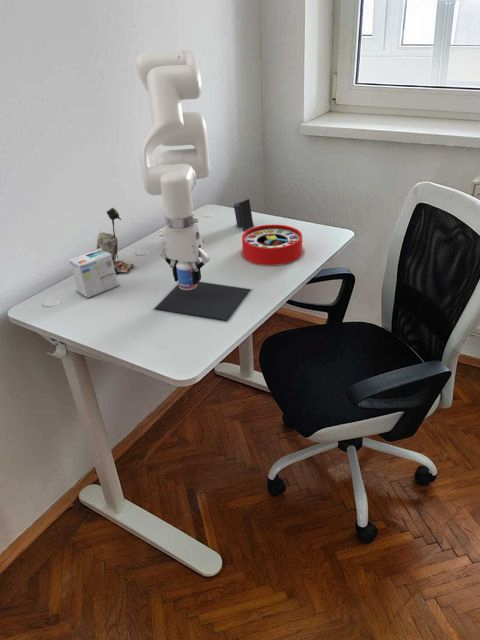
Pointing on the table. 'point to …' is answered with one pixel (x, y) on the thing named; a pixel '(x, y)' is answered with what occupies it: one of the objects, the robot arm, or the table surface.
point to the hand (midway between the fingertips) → (187, 280)
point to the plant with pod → (112, 244)
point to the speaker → (243, 214)
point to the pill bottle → (185, 275)
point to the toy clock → (272, 244)
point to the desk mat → (204, 301)
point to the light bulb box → (94, 272)
